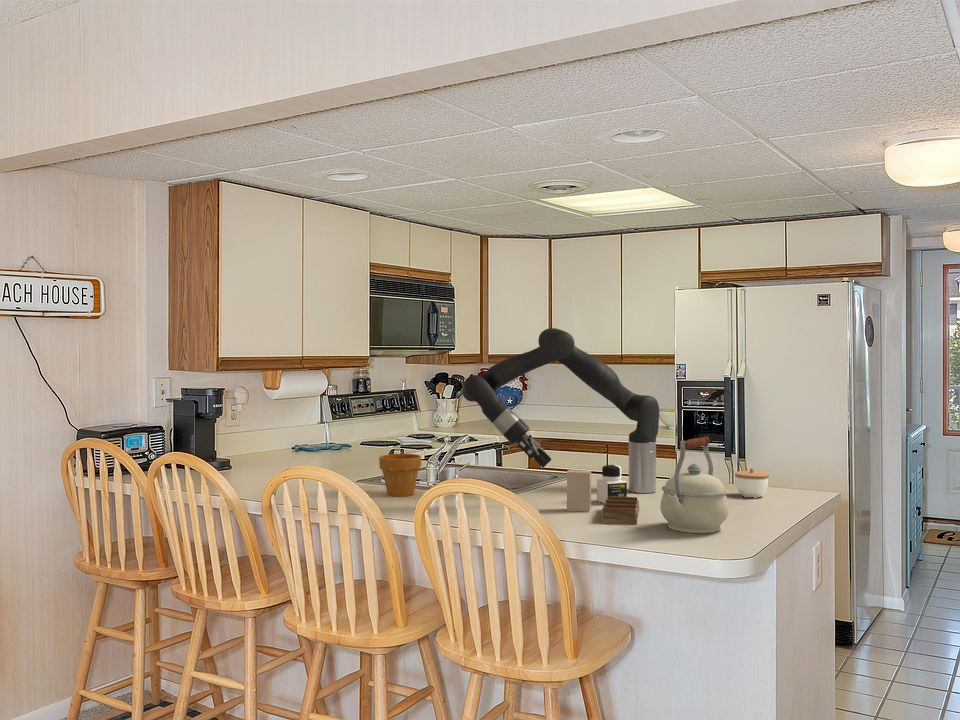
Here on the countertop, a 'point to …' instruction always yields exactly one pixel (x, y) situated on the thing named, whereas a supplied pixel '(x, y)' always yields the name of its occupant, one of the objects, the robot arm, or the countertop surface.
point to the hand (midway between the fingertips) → (547, 463)
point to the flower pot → (400, 473)
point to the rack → (620, 510)
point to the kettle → (694, 495)
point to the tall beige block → (578, 490)
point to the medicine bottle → (611, 483)
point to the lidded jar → (751, 483)
